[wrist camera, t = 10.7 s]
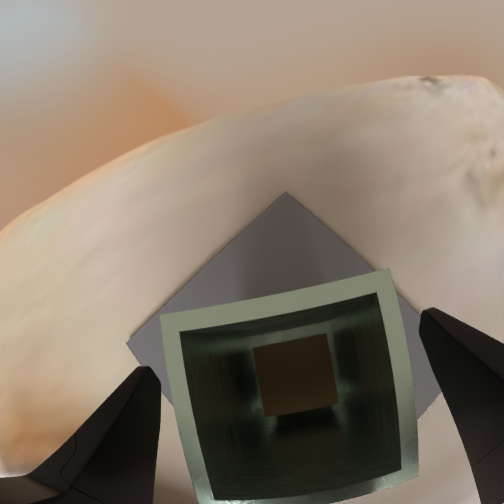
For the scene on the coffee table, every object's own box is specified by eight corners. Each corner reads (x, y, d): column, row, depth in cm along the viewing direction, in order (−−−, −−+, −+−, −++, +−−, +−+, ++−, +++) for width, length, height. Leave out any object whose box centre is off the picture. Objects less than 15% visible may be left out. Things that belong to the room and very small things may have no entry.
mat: (458, 362, 14) (462, 362, 14) (294, 514, 13) (294, 517, 12) (285, 194, 20) (285, 191, 20) (129, 343, 19) (125, 343, 18)
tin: (350, 401, 15) (418, 476, 4) (256, 419, 15) (201, 511, 5) (334, 311, 17) (389, 268, 6) (240, 330, 17) (159, 314, 7)
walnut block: (330, 390, 15) (338, 403, 11) (271, 401, 15) (264, 417, 12) (320, 334, 16) (326, 333, 13) (261, 346, 16) (252, 347, 13)
